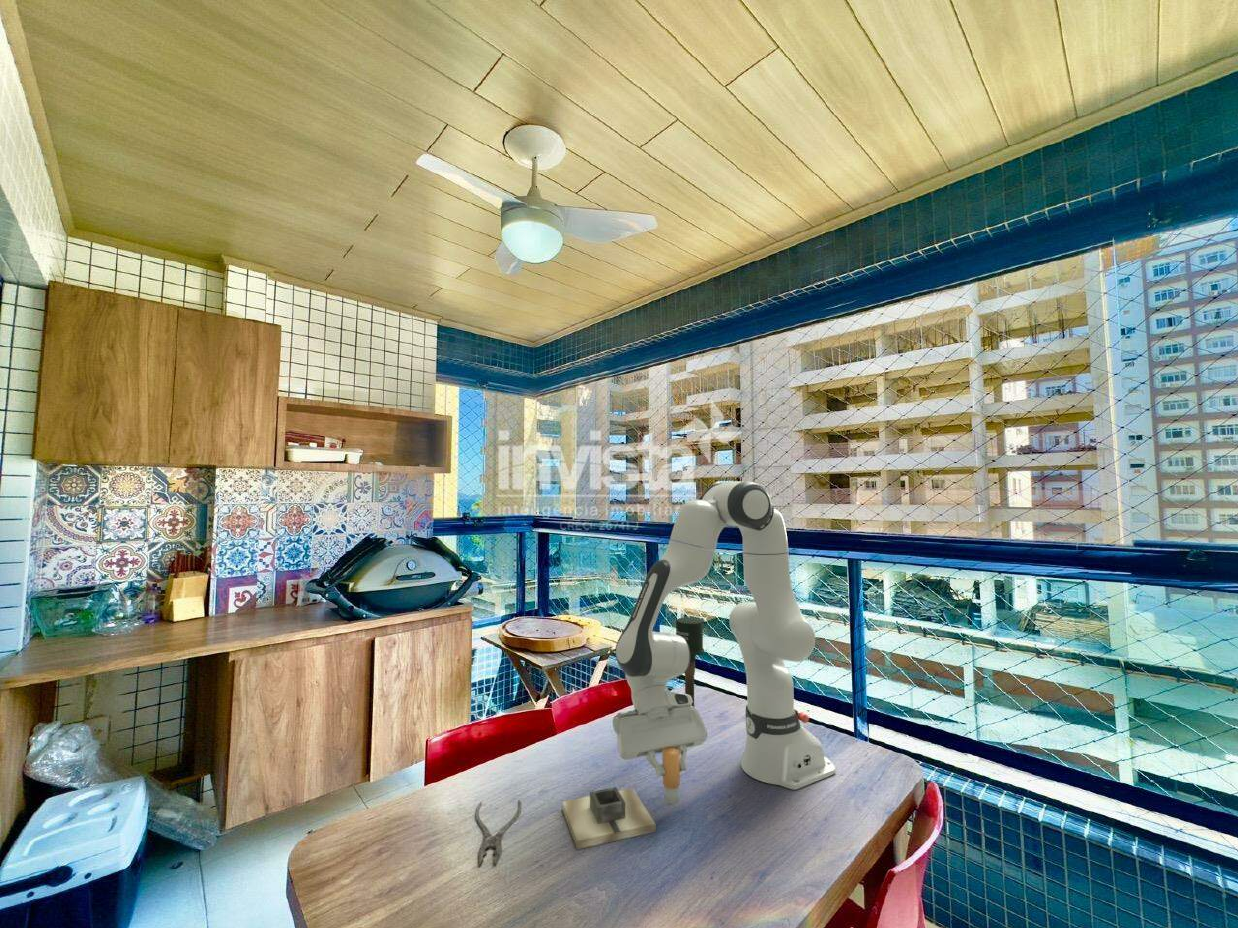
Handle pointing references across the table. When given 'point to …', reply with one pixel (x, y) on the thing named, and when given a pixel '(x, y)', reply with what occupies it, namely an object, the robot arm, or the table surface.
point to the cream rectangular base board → (606, 817)
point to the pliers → (493, 840)
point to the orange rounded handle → (671, 775)
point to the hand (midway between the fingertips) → (672, 773)
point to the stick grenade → (691, 647)
